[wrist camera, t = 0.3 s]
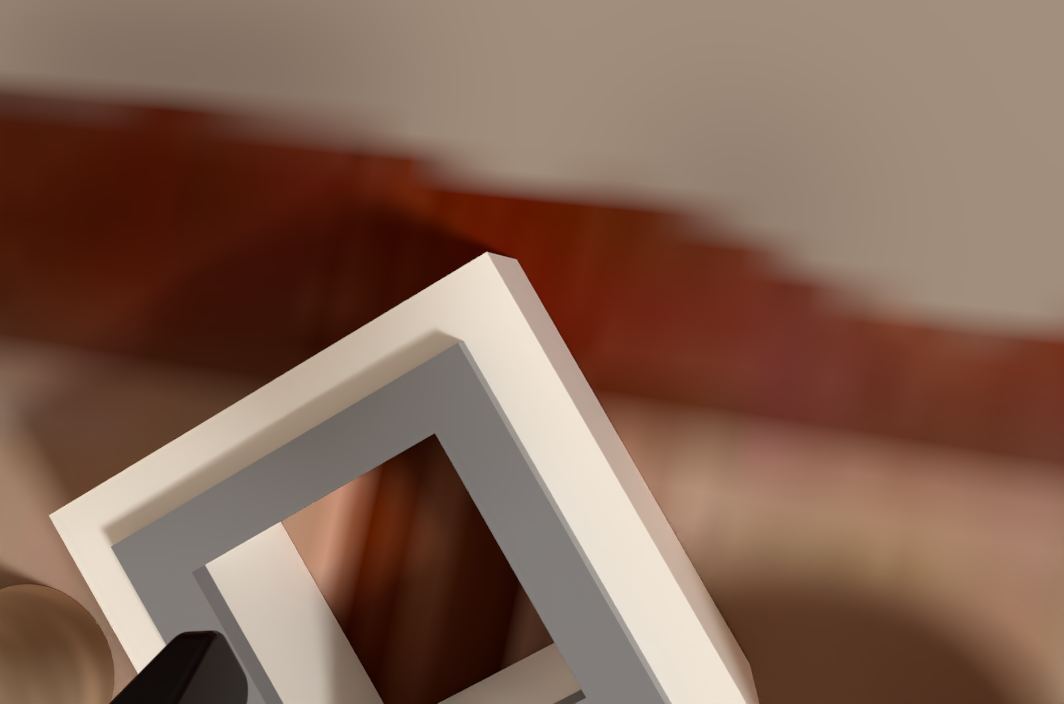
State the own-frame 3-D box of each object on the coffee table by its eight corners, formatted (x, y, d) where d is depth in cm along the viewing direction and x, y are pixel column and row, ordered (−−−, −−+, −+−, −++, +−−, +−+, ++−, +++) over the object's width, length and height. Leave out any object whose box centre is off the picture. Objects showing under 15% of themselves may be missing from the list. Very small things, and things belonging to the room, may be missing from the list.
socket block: (749, 664, 24) (772, 756, 19) (361, 858, 25) (293, 986, 21) (516, 259, 24) (481, 250, 19) (147, 479, 26) (31, 521, 21)
